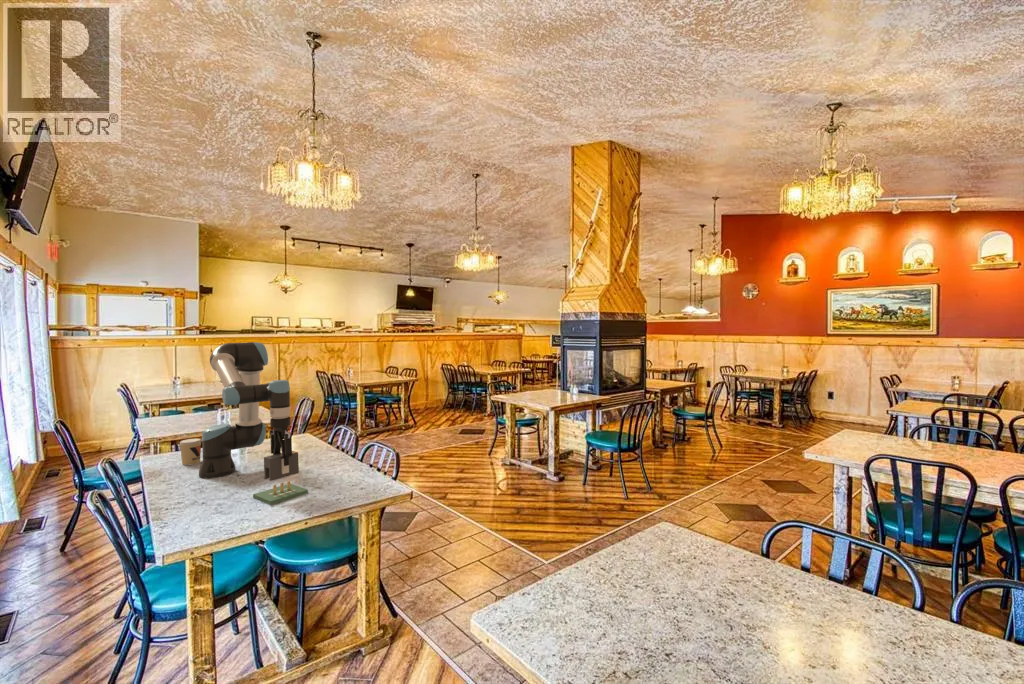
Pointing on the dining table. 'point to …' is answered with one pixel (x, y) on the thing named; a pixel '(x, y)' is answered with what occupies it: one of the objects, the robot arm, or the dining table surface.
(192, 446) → the coffee cup
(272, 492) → the header board
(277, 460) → the plug housing
